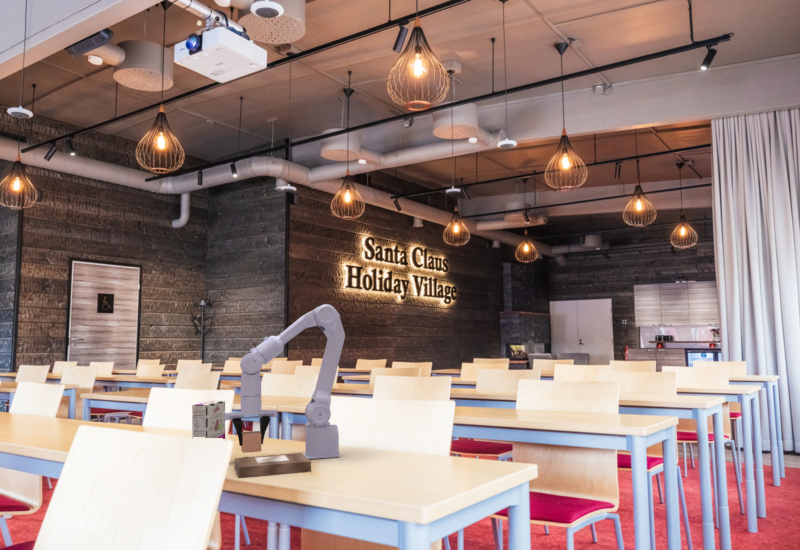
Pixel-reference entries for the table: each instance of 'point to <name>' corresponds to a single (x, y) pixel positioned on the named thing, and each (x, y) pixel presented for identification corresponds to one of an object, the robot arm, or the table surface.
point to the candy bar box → (209, 419)
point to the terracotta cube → (251, 441)
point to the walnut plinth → (272, 465)
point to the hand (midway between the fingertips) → (251, 444)
